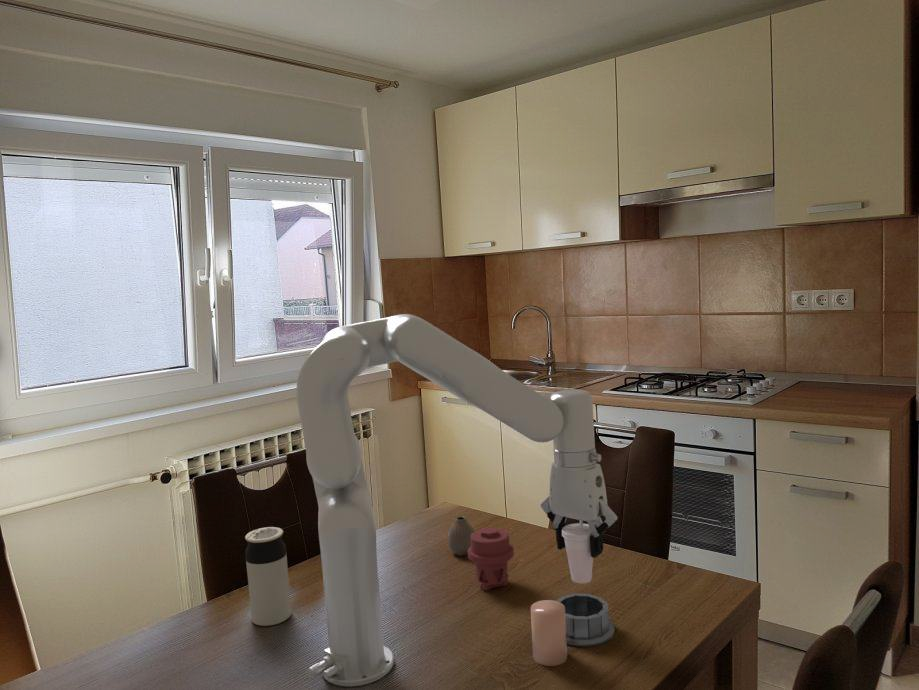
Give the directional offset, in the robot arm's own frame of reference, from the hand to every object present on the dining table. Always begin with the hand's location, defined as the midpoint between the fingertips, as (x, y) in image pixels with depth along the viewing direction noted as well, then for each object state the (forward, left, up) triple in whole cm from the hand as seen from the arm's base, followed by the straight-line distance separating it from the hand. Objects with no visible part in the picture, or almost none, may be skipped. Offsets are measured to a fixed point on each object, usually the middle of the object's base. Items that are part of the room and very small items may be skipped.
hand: (579, 550), depth 130 cm
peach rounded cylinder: (-11, 0, -16) cm, 19 cm away
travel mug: (-31, +55, -16) cm, 65 cm away
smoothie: (0, 0, -6) cm, 6 cm away
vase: (+16, +43, -16) cm, 49 cm away
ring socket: (0, 0, -16) cm, 16 cm away
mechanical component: (+6, +26, -16) cm, 31 cm away
